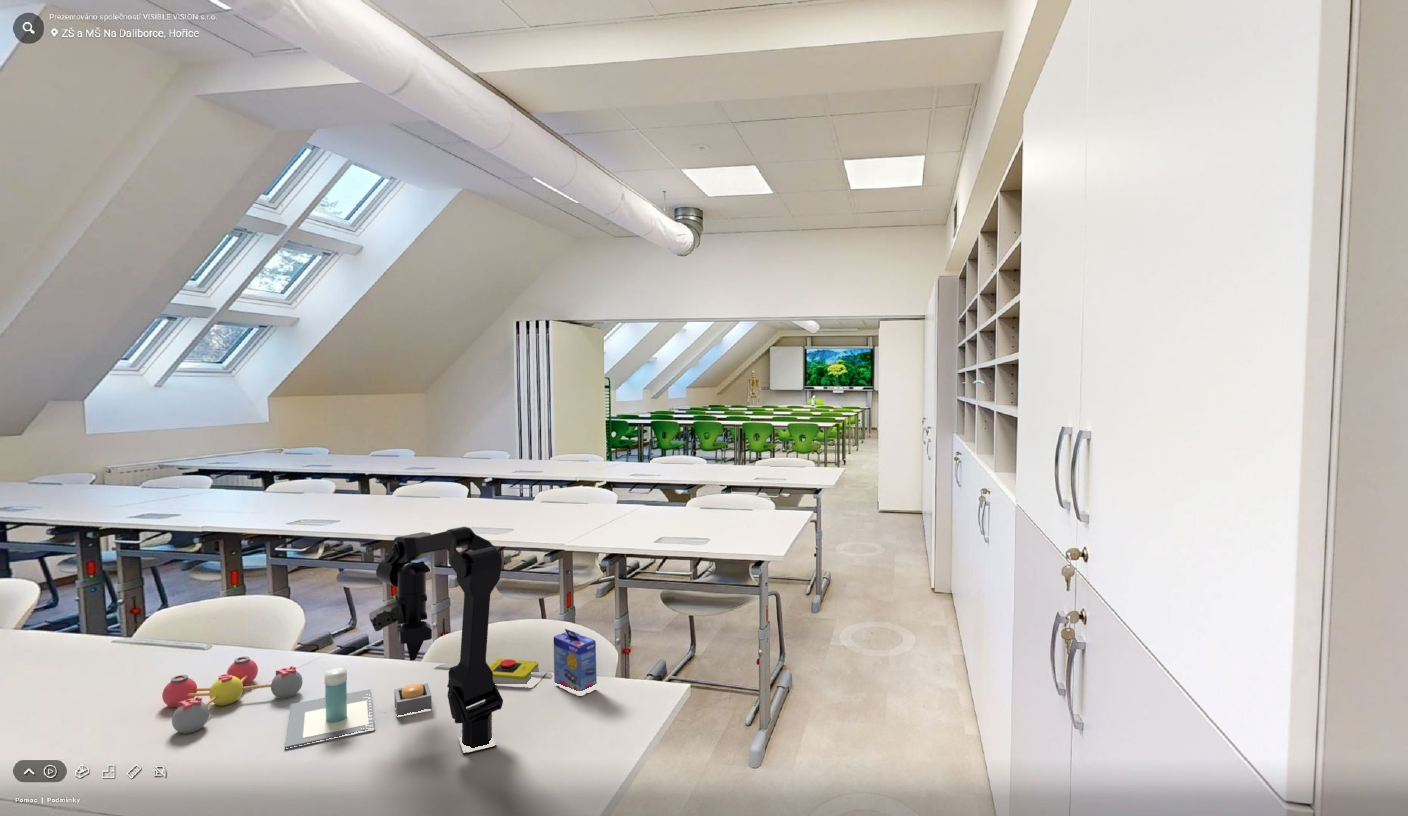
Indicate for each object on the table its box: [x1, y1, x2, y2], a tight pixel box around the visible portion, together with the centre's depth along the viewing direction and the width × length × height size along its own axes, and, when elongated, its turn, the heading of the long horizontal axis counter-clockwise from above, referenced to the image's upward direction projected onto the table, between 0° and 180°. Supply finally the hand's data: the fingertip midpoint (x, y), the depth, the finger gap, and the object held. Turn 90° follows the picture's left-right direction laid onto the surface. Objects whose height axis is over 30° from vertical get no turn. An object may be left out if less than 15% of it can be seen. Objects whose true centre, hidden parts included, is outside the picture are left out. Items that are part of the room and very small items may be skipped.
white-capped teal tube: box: [324, 667, 348, 723], centre depth 146 cm, size 4×4×10 cm
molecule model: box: [161, 656, 303, 734], centre depth 154 cm, size 25×21×6 cm
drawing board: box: [284, 688, 375, 750], centre depth 147 cm, size 20×16×1 cm
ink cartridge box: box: [553, 628, 598, 691], centre depth 162 cm, size 10×6×14 cm, turn 51°
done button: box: [402, 683, 423, 700], centre depth 152 cm, size 4×4×3 cm
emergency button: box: [488, 658, 545, 684], centre depth 168 cm, size 9×4×15 cm
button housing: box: [393, 682, 433, 717], centre depth 152 cm, size 7×7×4 cm
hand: (412, 659), depth 152 cm, fingers closed
